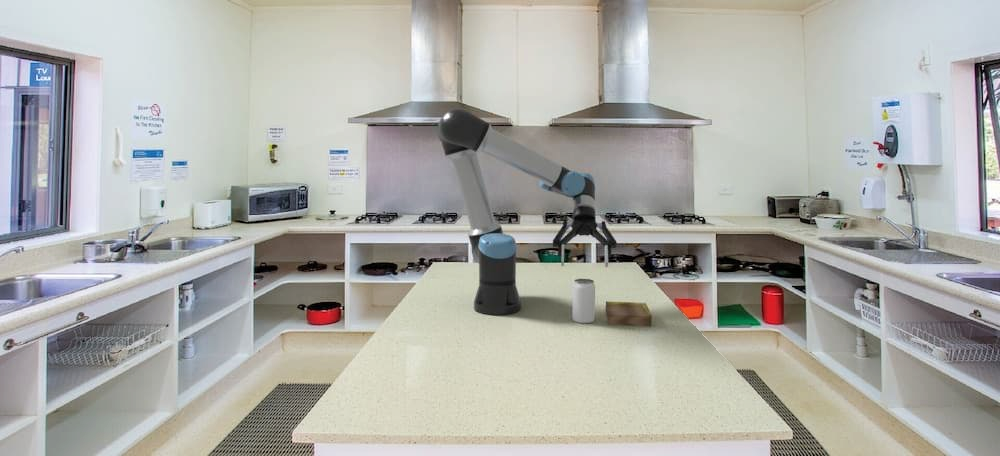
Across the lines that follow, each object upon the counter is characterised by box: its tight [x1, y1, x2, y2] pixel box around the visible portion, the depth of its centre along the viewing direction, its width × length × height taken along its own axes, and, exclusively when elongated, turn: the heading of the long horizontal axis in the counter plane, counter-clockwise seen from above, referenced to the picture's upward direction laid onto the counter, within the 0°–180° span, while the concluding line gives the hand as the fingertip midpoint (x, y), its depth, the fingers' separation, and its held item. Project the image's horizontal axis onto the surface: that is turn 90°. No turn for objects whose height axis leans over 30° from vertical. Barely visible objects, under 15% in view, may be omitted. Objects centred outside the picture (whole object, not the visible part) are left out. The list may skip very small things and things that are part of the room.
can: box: [571, 278, 596, 325], centre depth 146 cm, size 6×6×12 cm
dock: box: [605, 301, 653, 328], centre depth 148 cm, size 12×12×4 cm
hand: (584, 264), depth 155 cm, fingers open, 13 cm apart
